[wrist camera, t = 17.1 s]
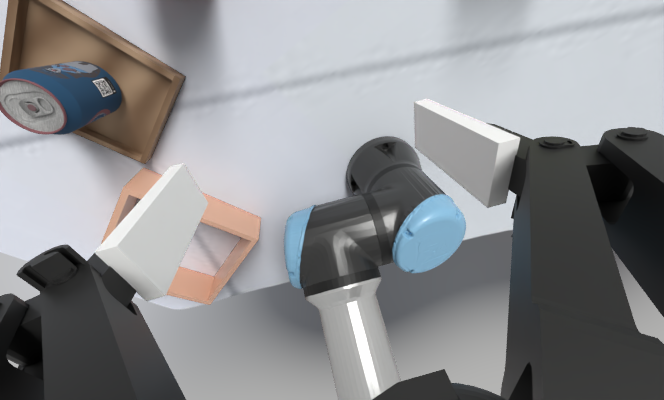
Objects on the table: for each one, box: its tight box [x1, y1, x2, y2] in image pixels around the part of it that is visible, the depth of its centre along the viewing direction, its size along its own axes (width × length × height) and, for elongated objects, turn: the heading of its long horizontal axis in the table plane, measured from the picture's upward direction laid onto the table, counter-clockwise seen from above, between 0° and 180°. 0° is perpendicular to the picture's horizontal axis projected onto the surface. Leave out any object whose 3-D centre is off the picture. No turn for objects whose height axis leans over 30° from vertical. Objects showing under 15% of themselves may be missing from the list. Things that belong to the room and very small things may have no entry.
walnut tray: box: [0, 0, 186, 164], centre depth 36 cm, size 18×16×2 cm
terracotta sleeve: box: [101, 167, 261, 305], centre depth 51 cm, size 23×23×7 cm
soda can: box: [0, 61, 122, 134], centre depth 32 cm, size 7×7×12 cm
